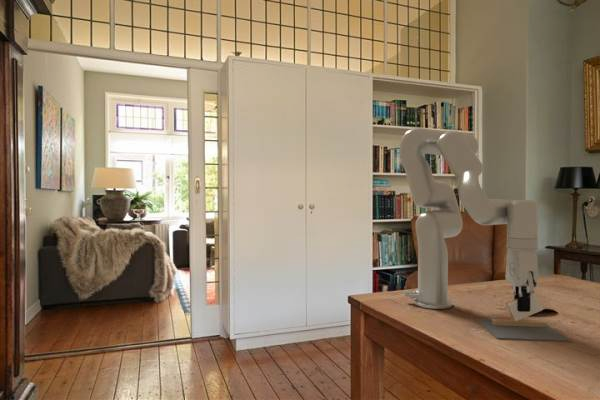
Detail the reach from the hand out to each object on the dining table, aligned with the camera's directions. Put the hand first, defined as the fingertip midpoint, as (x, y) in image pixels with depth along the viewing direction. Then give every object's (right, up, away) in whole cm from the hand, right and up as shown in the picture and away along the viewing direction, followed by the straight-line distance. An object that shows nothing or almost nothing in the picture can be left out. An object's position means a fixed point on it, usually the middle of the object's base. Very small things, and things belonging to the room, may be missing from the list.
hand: (522, 309), depth 113 cm
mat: (-1, -5, -1) cm, 5 cm away
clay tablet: (+12, -6, +18) cm, 22 cm away
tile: (+2, -1, 0) cm, 2 cm away
